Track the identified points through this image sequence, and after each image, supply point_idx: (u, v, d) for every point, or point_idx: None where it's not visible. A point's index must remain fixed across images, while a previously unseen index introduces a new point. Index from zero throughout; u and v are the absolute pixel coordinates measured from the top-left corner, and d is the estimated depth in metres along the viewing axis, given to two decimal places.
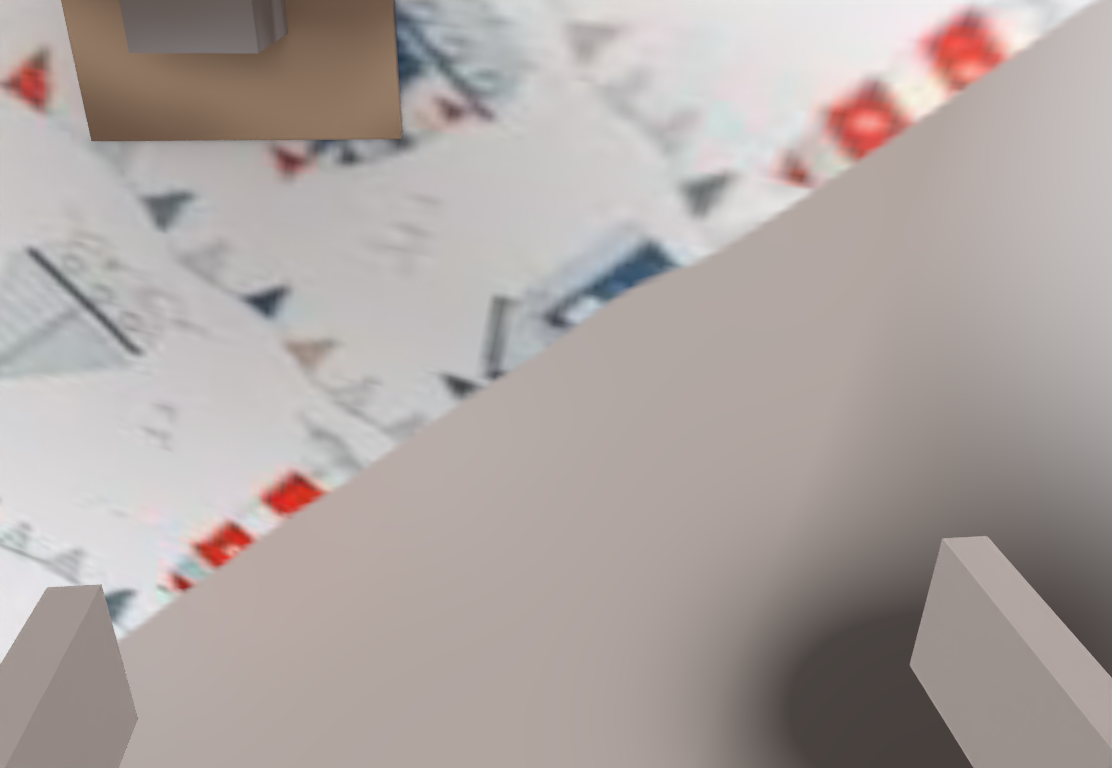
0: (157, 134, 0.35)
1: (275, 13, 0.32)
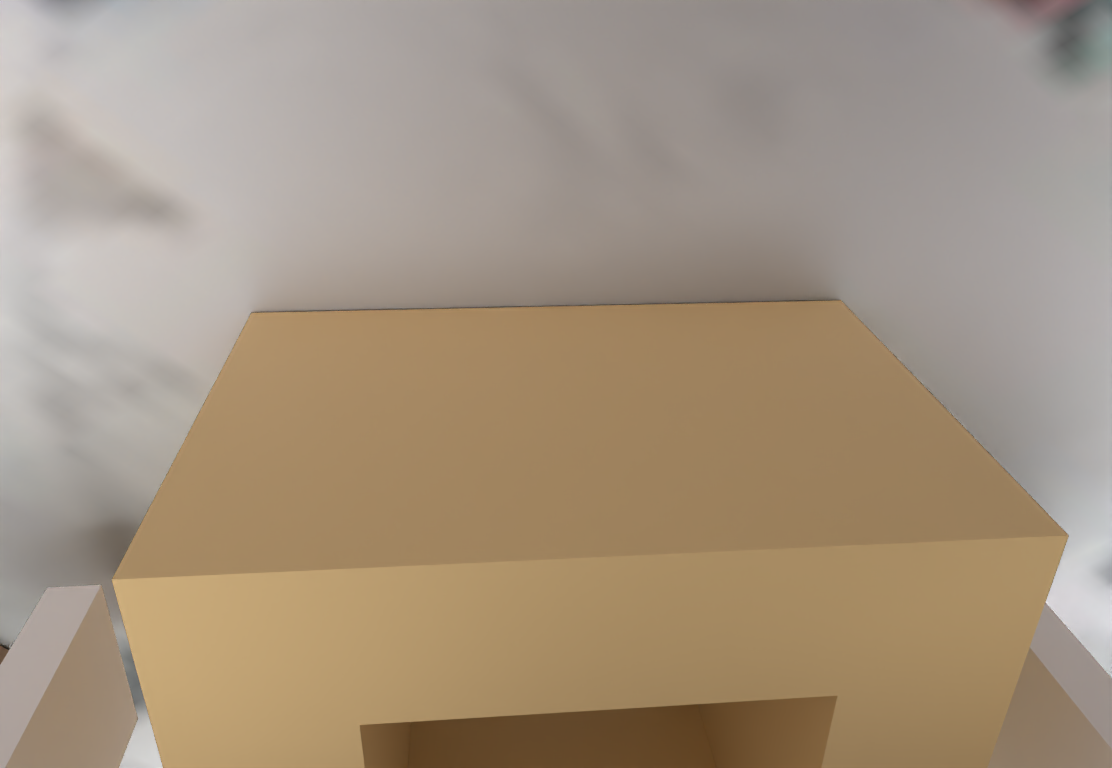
0: None
1: None
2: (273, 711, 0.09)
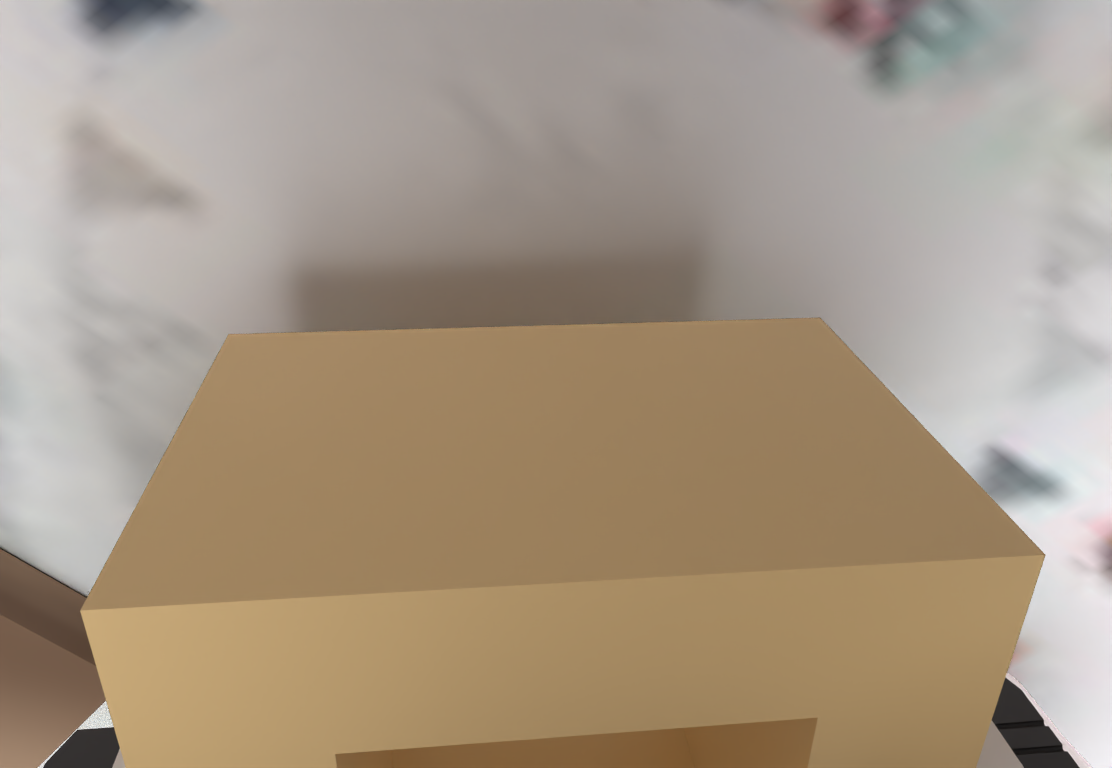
0: None
1: None
2: (246, 741, 0.09)
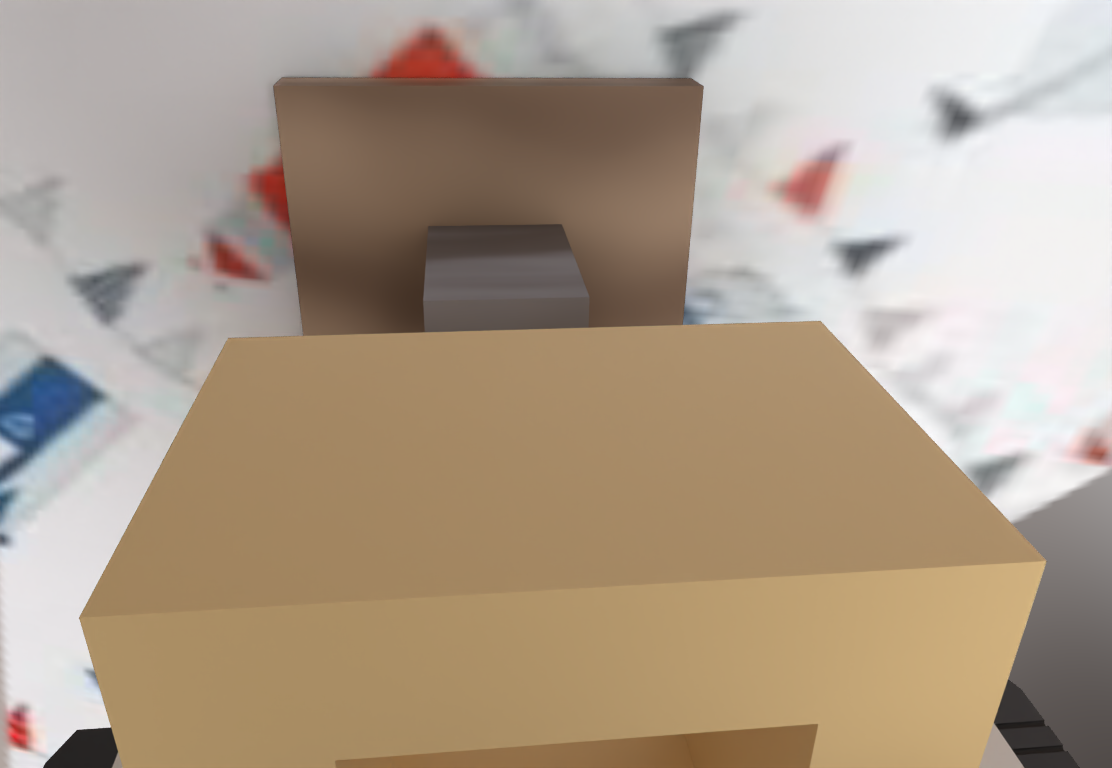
0: None
1: None
2: (245, 748, 0.09)
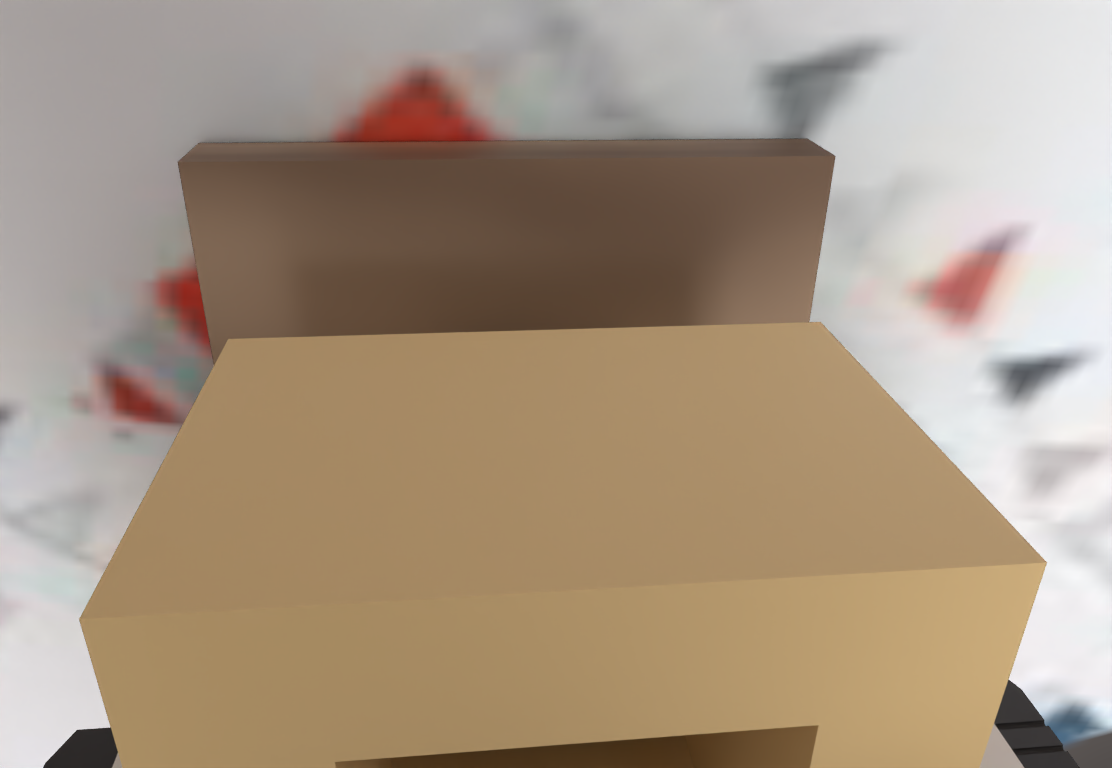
0: None
1: None
2: (245, 749, 0.09)
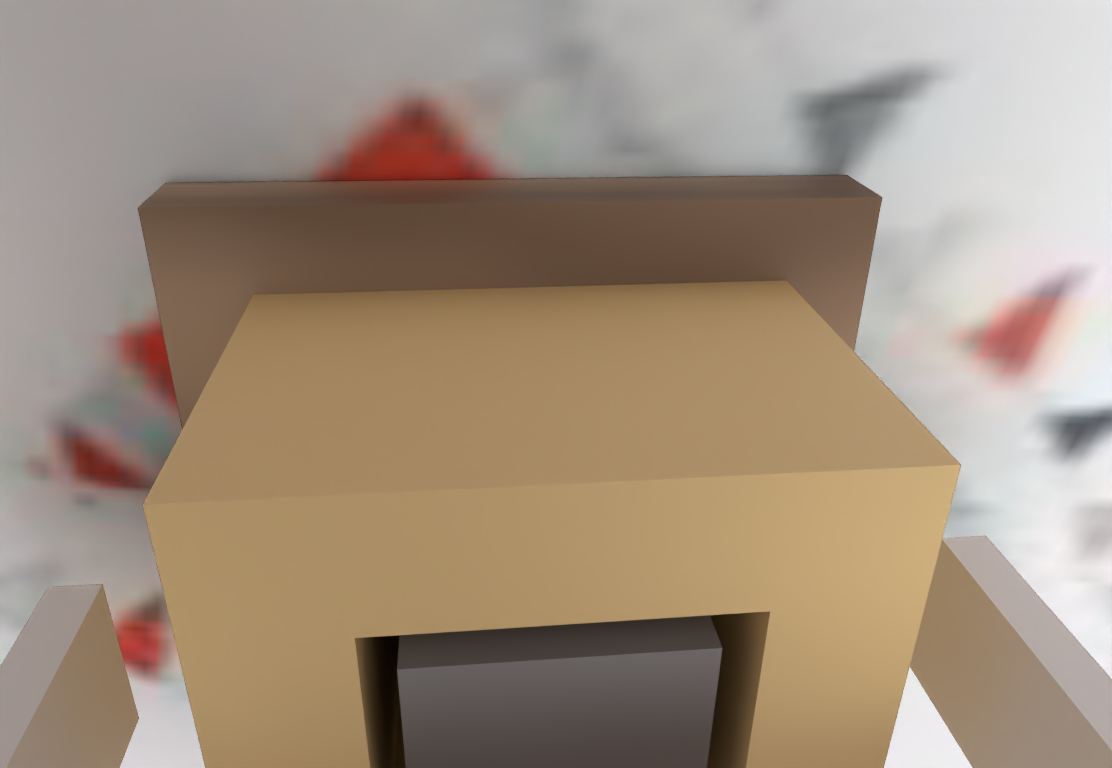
0: None
1: None
2: (279, 625, 0.10)
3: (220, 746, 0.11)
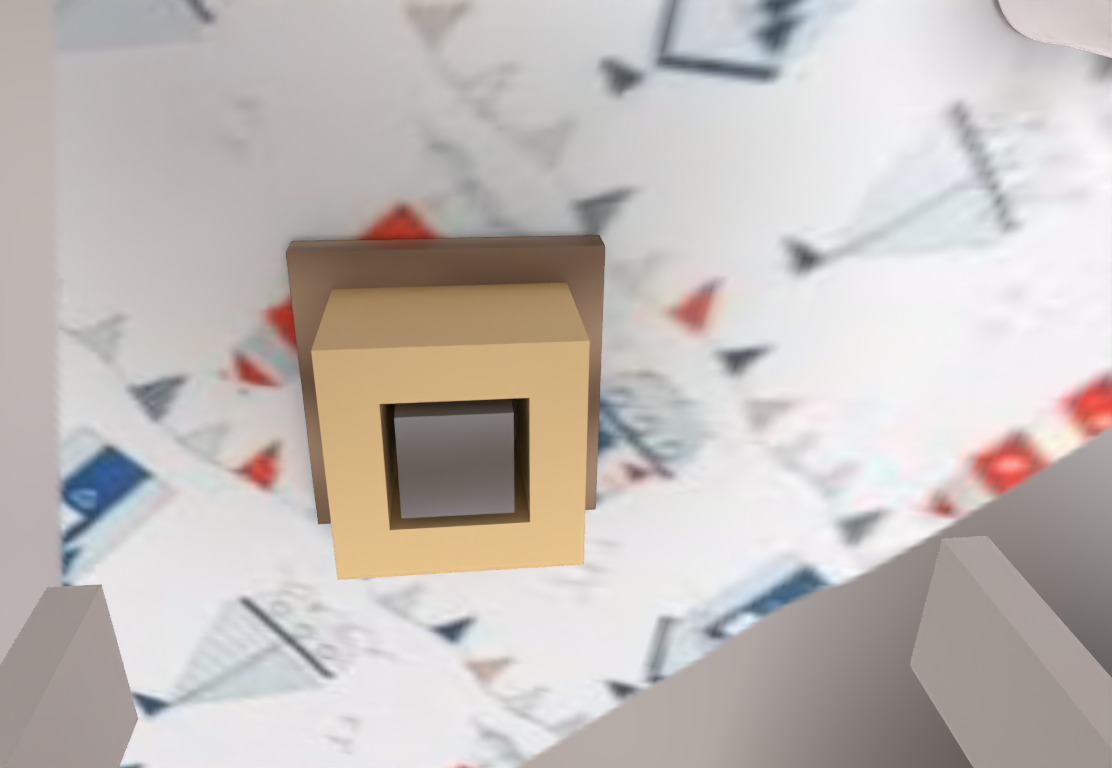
0: None
1: None
2: (353, 397, 0.30)
3: (329, 448, 0.30)
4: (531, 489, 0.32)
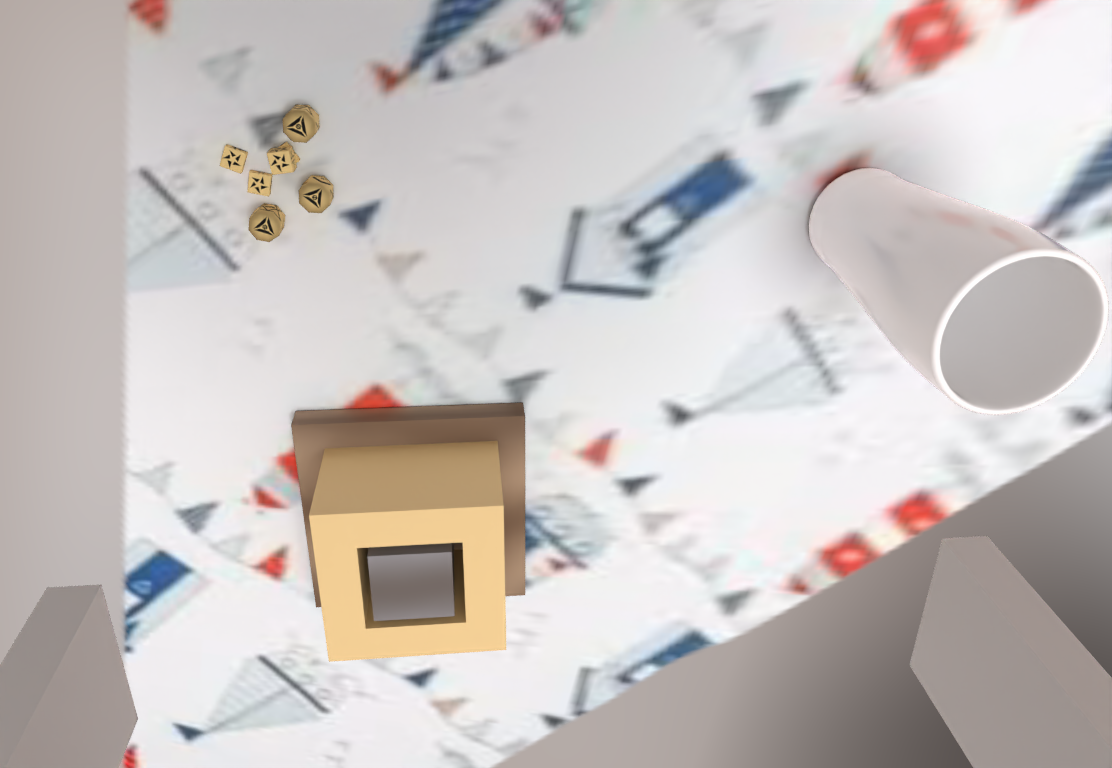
0: None
1: (453, 553, 0.48)
2: (338, 544, 0.42)
3: (322, 576, 0.43)
4: (466, 601, 0.45)
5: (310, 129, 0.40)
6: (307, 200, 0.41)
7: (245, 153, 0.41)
